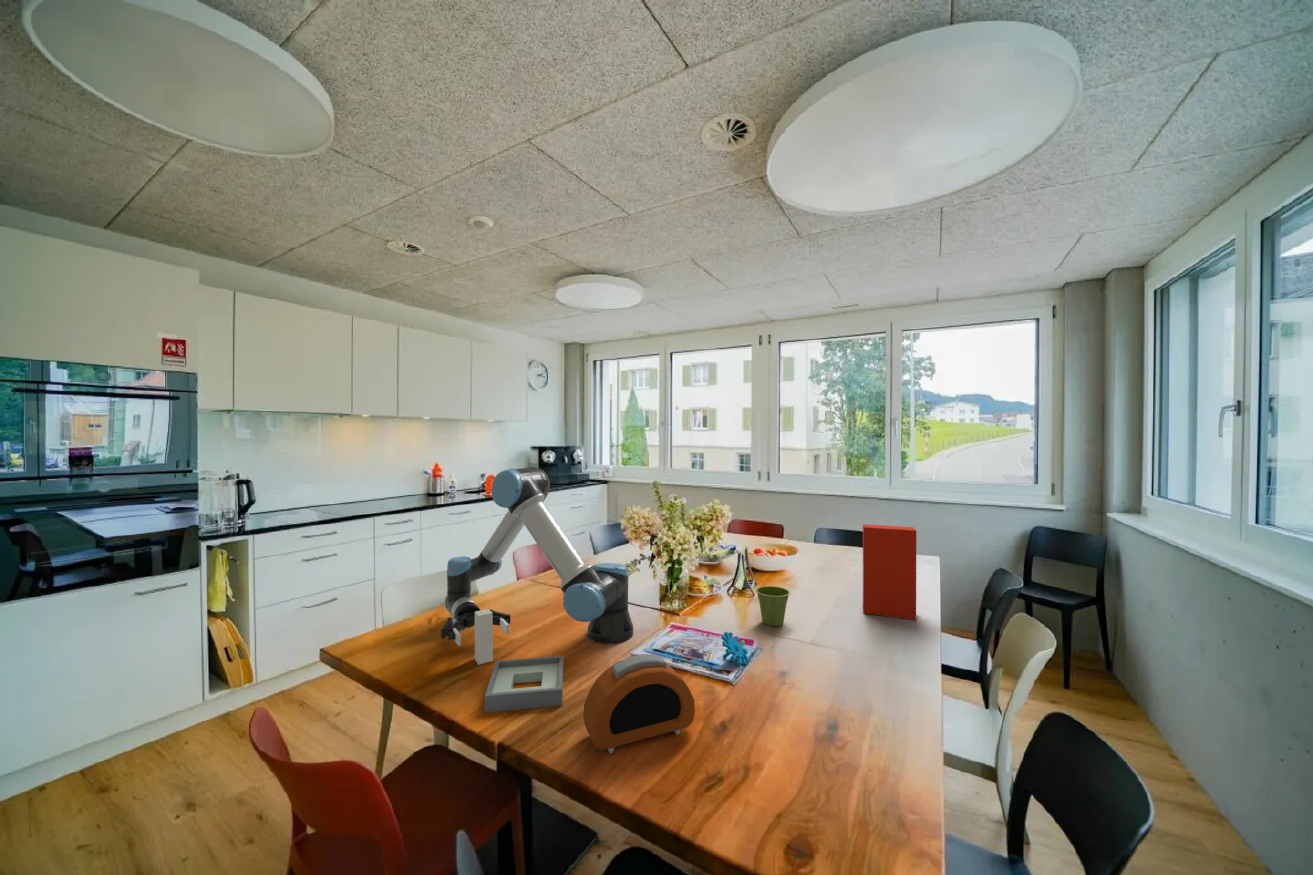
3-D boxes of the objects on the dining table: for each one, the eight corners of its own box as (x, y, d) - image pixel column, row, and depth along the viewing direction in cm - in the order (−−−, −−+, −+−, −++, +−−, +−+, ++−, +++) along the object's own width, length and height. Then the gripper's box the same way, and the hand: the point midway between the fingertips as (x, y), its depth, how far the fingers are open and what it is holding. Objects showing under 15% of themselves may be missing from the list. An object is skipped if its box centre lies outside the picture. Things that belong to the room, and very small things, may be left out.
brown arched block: (593, 760, 97) (594, 677, 97) (582, 734, 105) (582, 658, 105) (696, 731, 107) (696, 656, 107) (678, 710, 115) (678, 640, 115)
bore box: (563, 669, 135) (563, 655, 135) (562, 705, 117) (562, 689, 117) (496, 675, 131) (496, 660, 131) (484, 712, 114) (484, 695, 114)
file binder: (862, 606, 185) (862, 523, 185) (913, 612, 179) (913, 526, 179) (863, 613, 177) (863, 527, 177) (916, 620, 171) (916, 530, 171)
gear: (739, 666, 133) (719, 633, 138) (725, 677, 136) (705, 644, 141) (756, 657, 142) (736, 626, 147) (743, 667, 144) (723, 637, 149)
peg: (488, 655, 143) (488, 608, 143) (492, 660, 140) (492, 612, 140) (474, 659, 141) (474, 611, 141) (478, 664, 138) (478, 615, 137)
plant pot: (794, 620, 171) (794, 589, 171) (783, 632, 161) (784, 598, 161) (762, 614, 177) (762, 583, 177) (750, 624, 167) (750, 592, 167)
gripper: (504, 616, 163) (526, 637, 146) (424, 633, 149) (437, 659, 132) (504, 594, 163) (526, 612, 146) (424, 609, 149) (437, 632, 132)
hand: (484, 635), depth 139 cm, fingers open, 13 cm apart
